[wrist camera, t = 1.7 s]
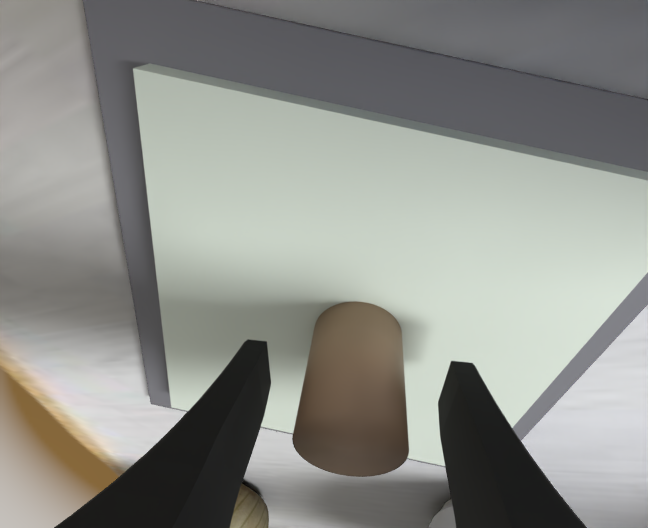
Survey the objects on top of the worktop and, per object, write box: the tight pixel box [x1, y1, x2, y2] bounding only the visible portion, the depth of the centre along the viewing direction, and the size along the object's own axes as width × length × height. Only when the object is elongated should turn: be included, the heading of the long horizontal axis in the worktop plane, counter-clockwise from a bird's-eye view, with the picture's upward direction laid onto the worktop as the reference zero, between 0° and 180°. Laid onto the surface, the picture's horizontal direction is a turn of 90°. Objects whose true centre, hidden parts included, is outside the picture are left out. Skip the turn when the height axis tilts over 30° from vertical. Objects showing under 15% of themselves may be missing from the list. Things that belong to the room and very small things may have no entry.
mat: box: [83, 0, 648, 467], centre depth 14 cm, size 17×17×1 cm
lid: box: [133, 63, 648, 477], centre depth 12 cm, size 14×14×5 cm
